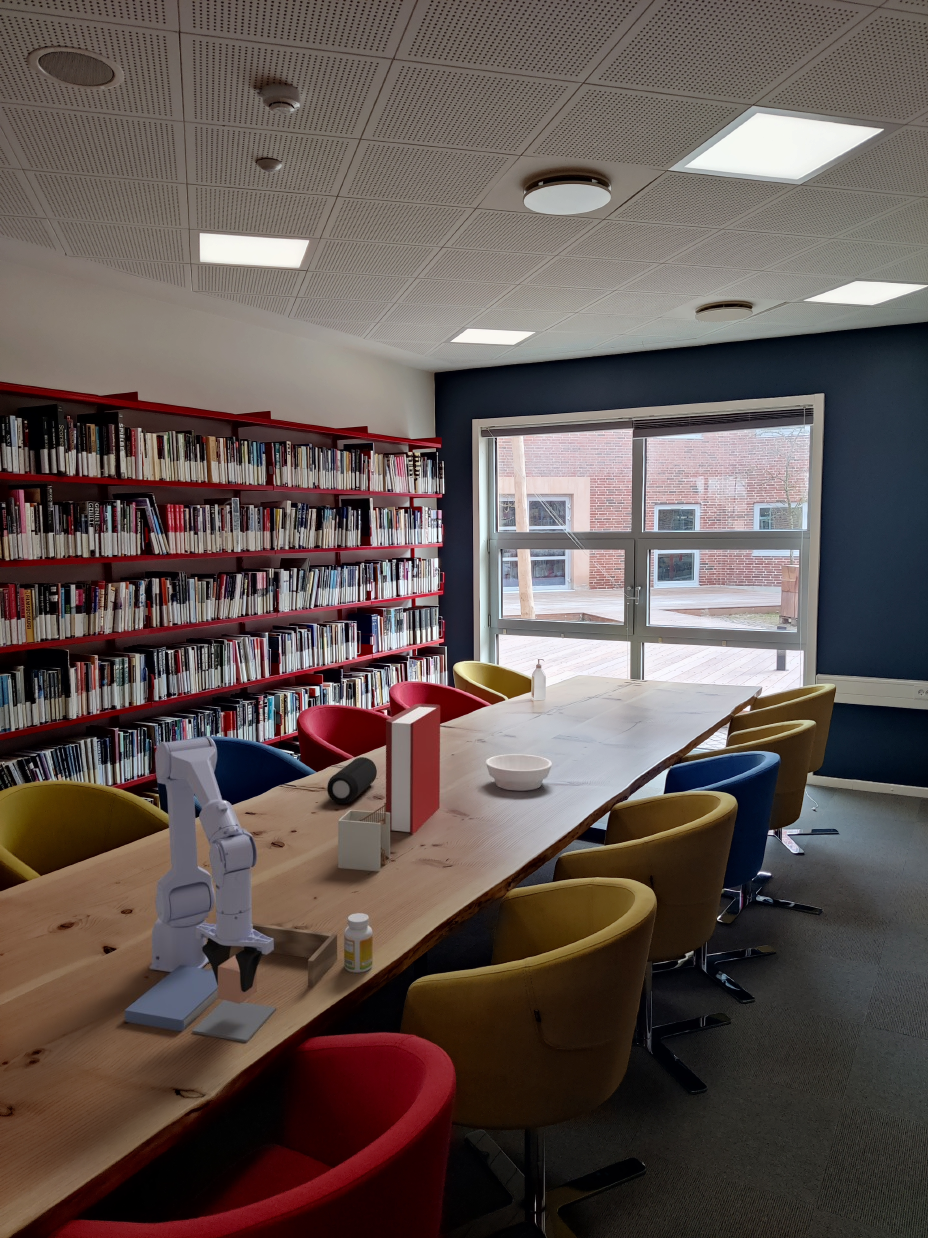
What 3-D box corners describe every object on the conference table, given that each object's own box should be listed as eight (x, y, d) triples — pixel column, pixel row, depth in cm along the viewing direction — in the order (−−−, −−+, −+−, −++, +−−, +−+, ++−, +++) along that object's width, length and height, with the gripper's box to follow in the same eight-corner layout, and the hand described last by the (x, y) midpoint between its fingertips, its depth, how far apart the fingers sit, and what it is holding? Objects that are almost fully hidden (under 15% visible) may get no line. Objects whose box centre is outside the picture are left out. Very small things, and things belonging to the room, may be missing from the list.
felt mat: (192, 1033, 138) (192, 1030, 138) (224, 1001, 147) (224, 999, 147) (247, 1042, 135) (247, 1040, 135) (276, 1010, 145) (276, 1007, 145)
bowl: (519, 773, 300) (520, 751, 299) (565, 788, 282) (566, 763, 282) (471, 784, 285) (471, 760, 285) (516, 800, 268) (517, 774, 267)
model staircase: (380, 873, 207) (380, 807, 206) (338, 869, 210) (338, 804, 208) (390, 860, 216) (390, 797, 215) (349, 857, 218) (349, 794, 217)
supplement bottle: (373, 959, 163) (373, 911, 162) (371, 973, 157) (371, 923, 157) (345, 959, 163) (345, 911, 162) (342, 973, 157) (342, 923, 156)
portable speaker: (351, 783, 286) (351, 754, 285) (379, 785, 284) (379, 756, 283) (324, 805, 261) (324, 774, 260) (355, 807, 259) (355, 776, 258)
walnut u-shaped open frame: (215, 972, 157) (214, 947, 157) (244, 946, 168) (244, 922, 167) (313, 987, 152) (313, 961, 152) (337, 959, 163) (337, 934, 162)
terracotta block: (217, 998, 140) (217, 966, 140) (235, 986, 144) (235, 955, 144) (239, 1004, 138) (239, 971, 138) (256, 991, 143) (256, 960, 142)
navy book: (182, 1035, 138) (182, 1020, 138) (124, 1024, 141) (124, 1010, 141) (233, 986, 153) (232, 973, 153) (180, 978, 156) (179, 965, 156)
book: (412, 835, 234) (413, 722, 231) (385, 832, 236) (386, 720, 234) (440, 806, 260) (441, 705, 258) (416, 804, 262) (416, 703, 260)
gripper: (284, 905, 140) (284, 983, 141) (214, 891, 146) (215, 966, 147) (258, 922, 134) (259, 1004, 135) (186, 907, 140) (188, 985, 141)
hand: (234, 985), depth 141 cm, fingers closed on terracotta block, 4 cm apart
